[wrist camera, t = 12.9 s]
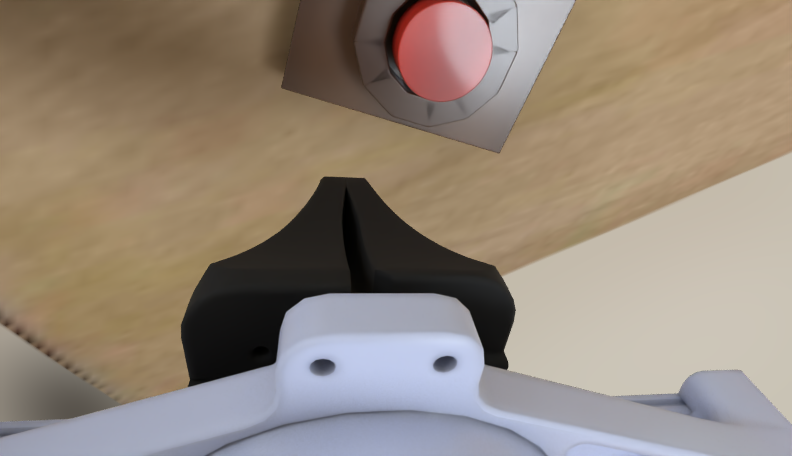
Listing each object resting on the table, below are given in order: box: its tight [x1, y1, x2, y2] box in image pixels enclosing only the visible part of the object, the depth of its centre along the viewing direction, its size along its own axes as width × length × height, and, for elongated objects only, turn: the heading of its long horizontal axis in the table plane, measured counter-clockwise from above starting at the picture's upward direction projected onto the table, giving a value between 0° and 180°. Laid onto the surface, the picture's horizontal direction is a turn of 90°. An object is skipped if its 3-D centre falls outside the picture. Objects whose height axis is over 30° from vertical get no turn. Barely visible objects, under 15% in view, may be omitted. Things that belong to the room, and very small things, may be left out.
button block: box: [282, 0, 576, 153], centre depth 20 cm, size 11×8×4 cm
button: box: [392, 0, 493, 102], centre depth 17 cm, size 4×4×2 cm
